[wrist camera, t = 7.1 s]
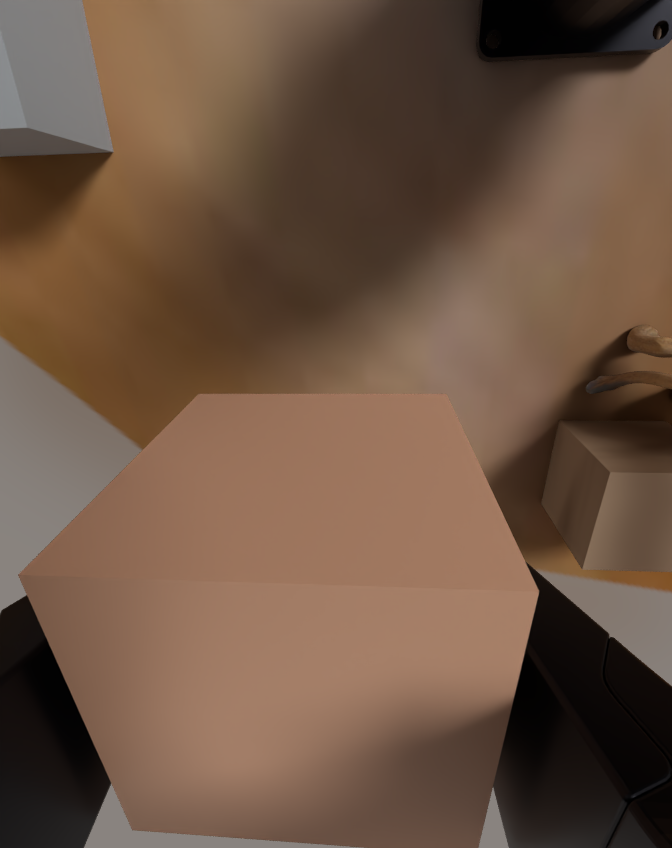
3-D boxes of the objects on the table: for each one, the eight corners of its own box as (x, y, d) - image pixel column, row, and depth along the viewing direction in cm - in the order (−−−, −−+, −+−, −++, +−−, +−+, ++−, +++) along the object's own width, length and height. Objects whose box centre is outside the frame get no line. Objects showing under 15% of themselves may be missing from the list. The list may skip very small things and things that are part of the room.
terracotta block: (446, 394, 8) (539, 591, 4) (428, 583, 10) (475, 856, 6) (198, 393, 9) (17, 575, 4) (230, 578, 11) (132, 830, 6)
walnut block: (663, 420, 21) (745, 474, 16) (635, 504, 23) (701, 573, 18) (558, 419, 21) (610, 472, 17) (540, 502, 23) (582, 569, 19)
